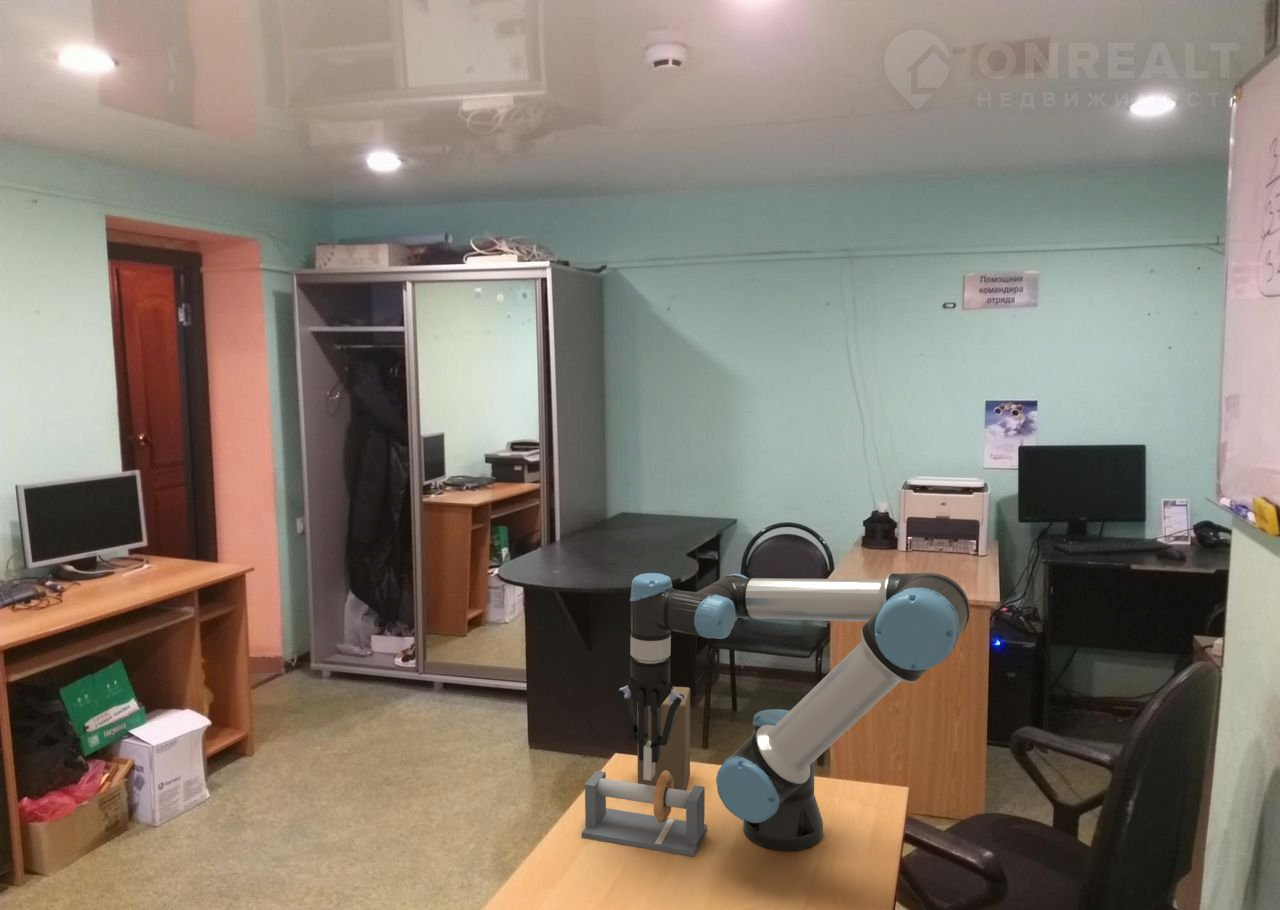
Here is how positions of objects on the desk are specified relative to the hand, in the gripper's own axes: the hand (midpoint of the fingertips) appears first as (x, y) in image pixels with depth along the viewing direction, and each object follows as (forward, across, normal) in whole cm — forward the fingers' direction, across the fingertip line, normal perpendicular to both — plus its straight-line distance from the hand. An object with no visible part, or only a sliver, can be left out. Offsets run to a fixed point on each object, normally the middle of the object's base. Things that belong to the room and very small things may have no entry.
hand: (649, 776), depth 170 cm
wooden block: (+12, +3, -20) cm, 23 cm away
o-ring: (+8, -3, 0) cm, 8 cm away
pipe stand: (+12, +1, 0) cm, 12 cm away
